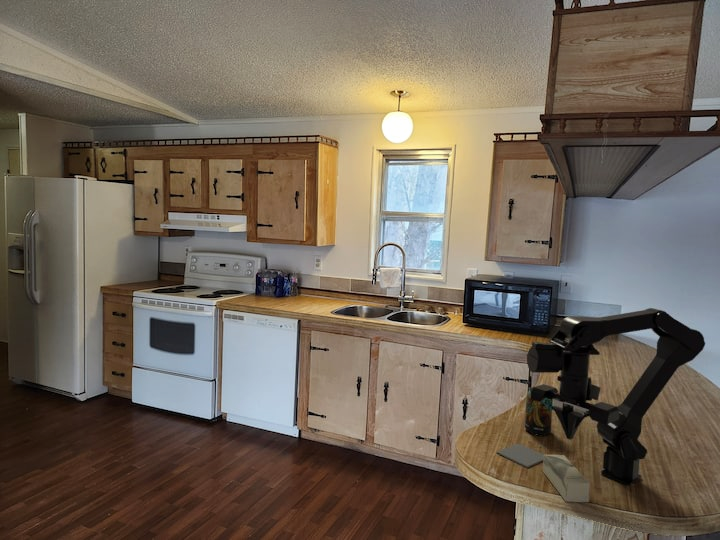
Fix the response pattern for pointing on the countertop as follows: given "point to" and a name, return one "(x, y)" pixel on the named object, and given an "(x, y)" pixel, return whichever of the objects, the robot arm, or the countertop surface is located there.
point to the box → (566, 478)
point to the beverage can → (538, 415)
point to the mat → (522, 455)
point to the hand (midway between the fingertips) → (569, 438)
